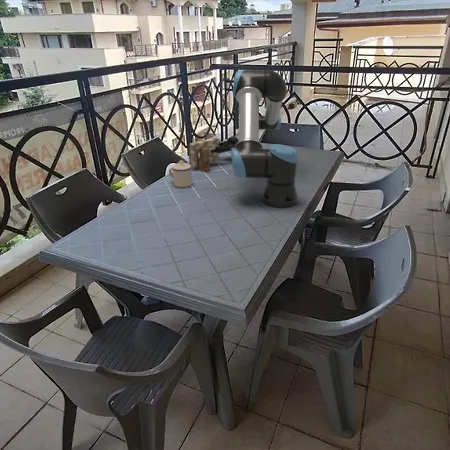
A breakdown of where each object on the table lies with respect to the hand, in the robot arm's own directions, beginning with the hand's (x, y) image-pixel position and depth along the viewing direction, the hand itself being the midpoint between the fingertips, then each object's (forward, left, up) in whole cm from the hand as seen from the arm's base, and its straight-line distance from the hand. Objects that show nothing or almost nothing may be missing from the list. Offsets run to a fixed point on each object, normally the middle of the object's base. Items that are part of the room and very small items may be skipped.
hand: (202, 151), depth 183 cm
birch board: (+1, -1, -7) cm, 7 cm away
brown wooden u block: (-2, +1, -9) cm, 9 cm away
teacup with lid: (-25, +1, -9) cm, 27 cm away
